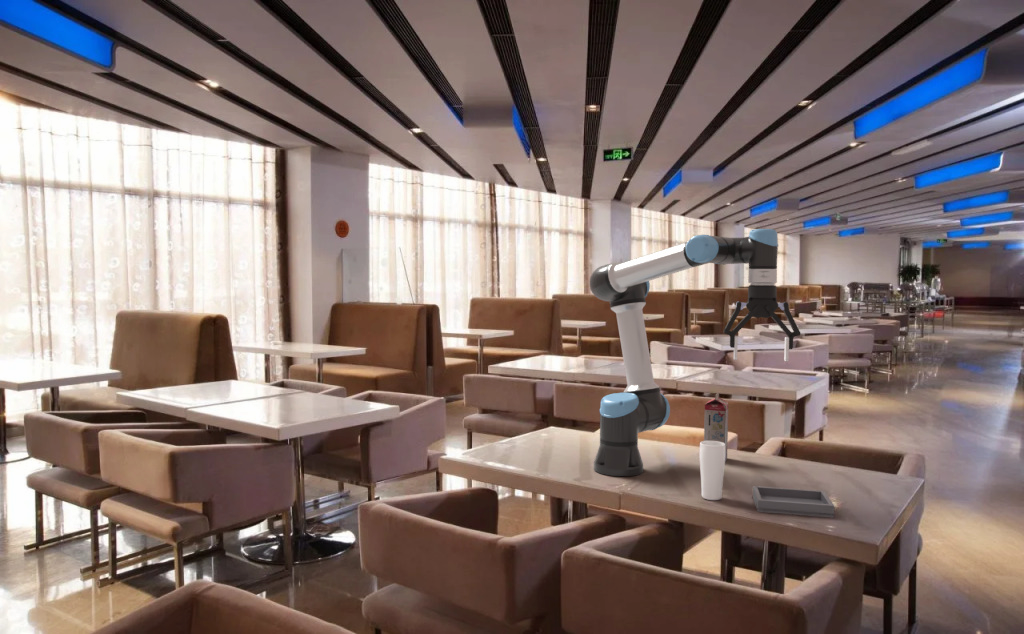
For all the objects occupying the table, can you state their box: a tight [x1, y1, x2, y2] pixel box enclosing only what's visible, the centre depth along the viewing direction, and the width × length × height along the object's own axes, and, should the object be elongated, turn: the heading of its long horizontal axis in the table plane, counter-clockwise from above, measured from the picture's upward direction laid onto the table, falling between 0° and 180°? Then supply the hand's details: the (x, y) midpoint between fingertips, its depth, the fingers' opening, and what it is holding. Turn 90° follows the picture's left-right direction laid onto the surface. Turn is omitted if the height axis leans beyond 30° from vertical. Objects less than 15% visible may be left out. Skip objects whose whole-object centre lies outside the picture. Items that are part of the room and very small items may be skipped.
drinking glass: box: [698, 440, 726, 501], centre depth 189 cm, size 7×7×15 cm
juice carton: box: [703, 391, 729, 462], centre depth 231 cm, size 7×7×22 cm
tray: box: [752, 485, 835, 519], centre depth 183 cm, size 18×13×3 cm
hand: (760, 360), depth 197 cm, fingers open, 13 cm apart
